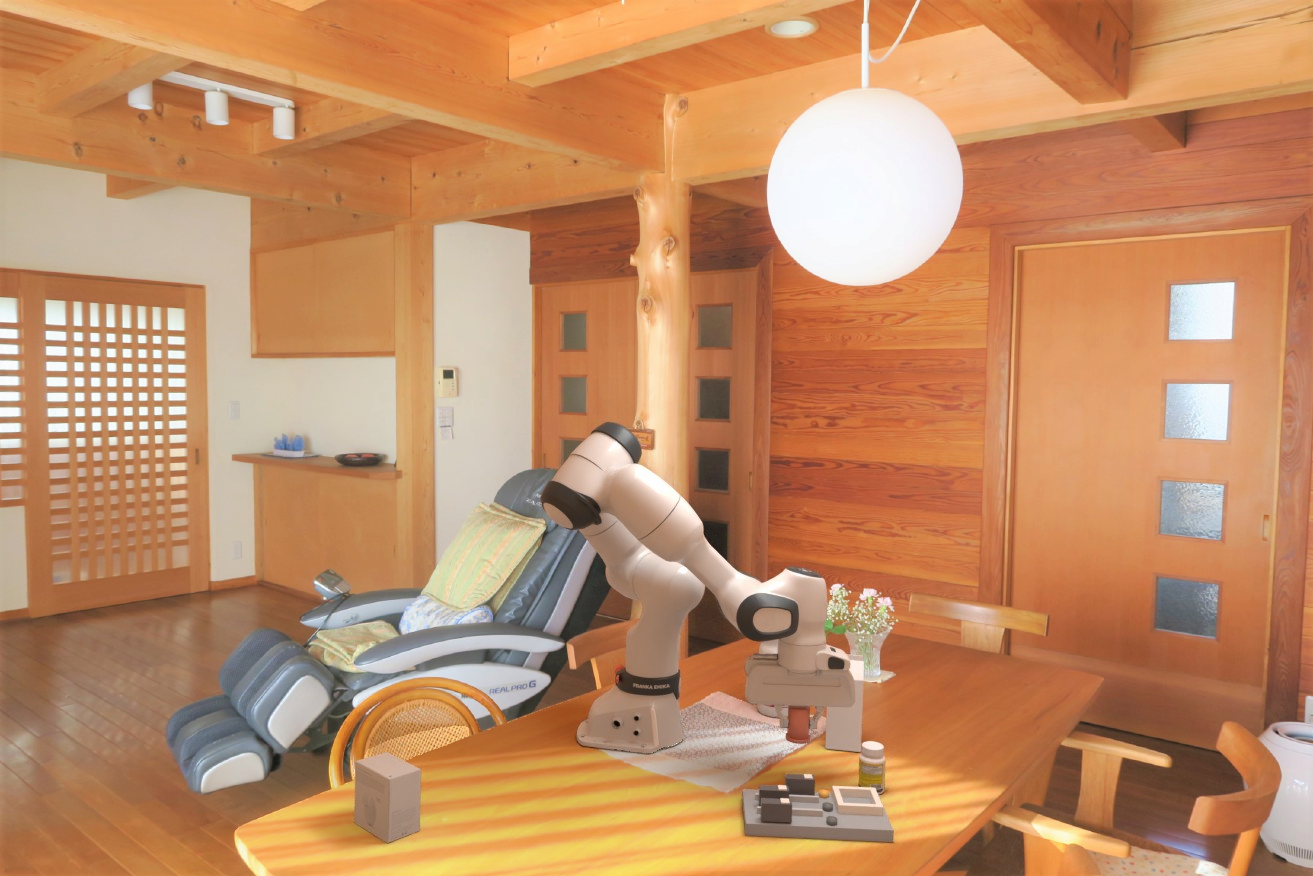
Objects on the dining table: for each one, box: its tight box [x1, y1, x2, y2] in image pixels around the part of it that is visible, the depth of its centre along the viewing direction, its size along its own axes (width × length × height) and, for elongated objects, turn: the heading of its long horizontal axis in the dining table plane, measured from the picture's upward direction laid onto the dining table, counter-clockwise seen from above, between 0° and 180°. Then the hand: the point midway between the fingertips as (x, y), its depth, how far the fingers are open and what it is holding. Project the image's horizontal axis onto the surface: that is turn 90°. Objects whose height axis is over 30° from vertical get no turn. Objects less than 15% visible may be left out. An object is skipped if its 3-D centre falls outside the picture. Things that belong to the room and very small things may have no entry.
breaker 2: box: [760, 798, 792, 823], centre depth 152 cm, size 5×2×3 cm, turn 87°
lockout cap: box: [784, 705, 811, 745], centre depth 171 cm, size 5×5×6 cm
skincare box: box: [353, 751, 422, 844], centre depth 151 cm, size 10×6×10 cm, turn 48°
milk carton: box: [824, 653, 865, 753], centre depth 190 cm, size 7×7×19 cm
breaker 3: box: [784, 773, 816, 796], centre depth 162 cm, size 5×2×3 cm, turn 87°
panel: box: [741, 785, 894, 843], centre depth 157 cm, size 24×13×4 cm, turn 87°
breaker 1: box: [758, 784, 789, 806], centre depth 157 cm, size 5×2×3 cm, turn 87°
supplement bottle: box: [857, 740, 887, 796], centre depth 169 cm, size 5×5×8 cm
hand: (798, 727), depth 171 cm, fingers closed on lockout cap, 4 cm apart
